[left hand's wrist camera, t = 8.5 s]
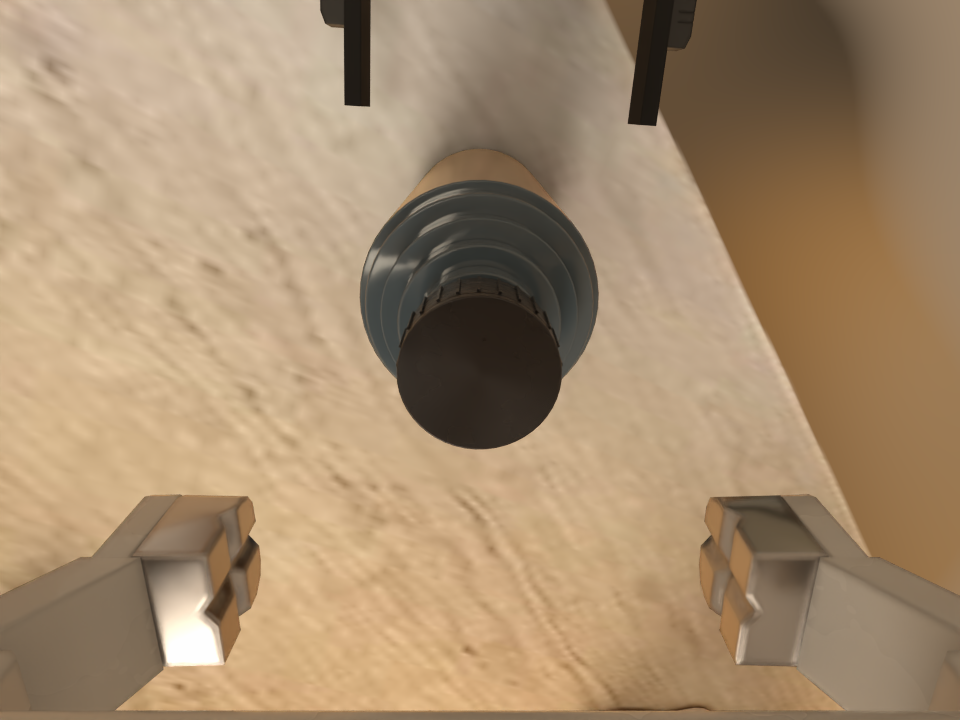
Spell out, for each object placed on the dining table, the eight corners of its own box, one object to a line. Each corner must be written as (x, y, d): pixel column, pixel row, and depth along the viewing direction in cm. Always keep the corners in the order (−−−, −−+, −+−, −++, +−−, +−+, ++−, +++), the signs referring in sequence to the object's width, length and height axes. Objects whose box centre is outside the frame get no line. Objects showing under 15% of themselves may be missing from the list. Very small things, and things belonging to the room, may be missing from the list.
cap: (384, 396, 19) (374, 425, 17) (427, 254, 17) (421, 270, 16) (526, 437, 19) (530, 470, 17) (578, 301, 18) (589, 323, 16)
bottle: (396, 262, 41) (286, 462, 18) (433, 129, 39) (362, 158, 15) (521, 301, 42) (573, 541, 19) (565, 173, 40) (693, 267, 16)
